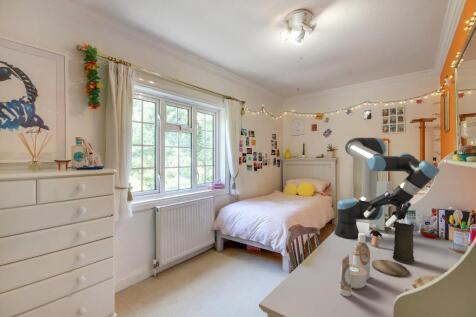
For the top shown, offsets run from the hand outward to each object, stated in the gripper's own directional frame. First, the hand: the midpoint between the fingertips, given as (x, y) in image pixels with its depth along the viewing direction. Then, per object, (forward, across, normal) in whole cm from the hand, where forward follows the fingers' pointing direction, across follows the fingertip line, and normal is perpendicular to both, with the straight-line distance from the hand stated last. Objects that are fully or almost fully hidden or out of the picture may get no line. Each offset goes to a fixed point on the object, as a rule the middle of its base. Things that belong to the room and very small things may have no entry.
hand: (375, 220), depth 119 cm
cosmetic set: (+15, -17, -32) cm, 39 cm away
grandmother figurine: (+19, +19, +6) cm, 28 cm away
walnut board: (+11, +6, -18) cm, 22 cm away
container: (+10, +20, -9) cm, 24 cm away
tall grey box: (+23, +43, +34) cm, 60 cm away
